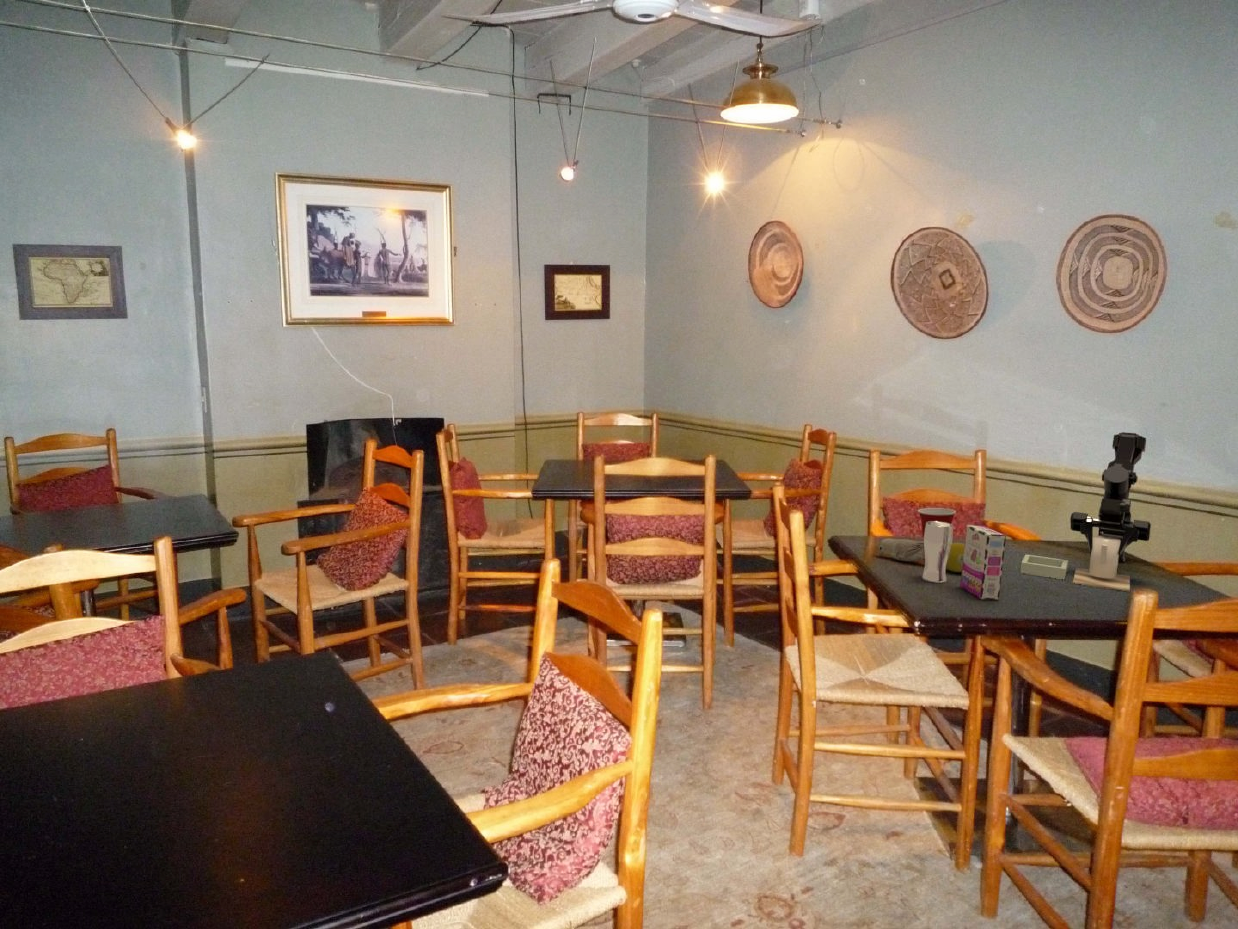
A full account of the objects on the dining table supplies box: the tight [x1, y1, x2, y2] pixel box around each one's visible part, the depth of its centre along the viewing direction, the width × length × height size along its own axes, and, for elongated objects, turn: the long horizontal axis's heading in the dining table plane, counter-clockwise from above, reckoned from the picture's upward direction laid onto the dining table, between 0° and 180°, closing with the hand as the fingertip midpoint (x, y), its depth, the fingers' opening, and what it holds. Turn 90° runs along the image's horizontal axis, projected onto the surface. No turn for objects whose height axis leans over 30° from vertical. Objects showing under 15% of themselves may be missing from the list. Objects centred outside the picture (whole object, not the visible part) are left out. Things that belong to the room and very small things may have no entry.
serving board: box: [1072, 567, 1131, 593], centre depth 232 cm, size 16×13×1 cm
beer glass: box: [921, 521, 954, 584], centre depth 226 cm, size 7×7×15 cm
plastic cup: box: [917, 507, 957, 541], centre depth 260 cm, size 11×11×12 cm
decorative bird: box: [877, 537, 925, 562], centre depth 244 cm, size 5×16×8 cm, turn 51°
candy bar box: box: [960, 524, 1007, 601], centre depth 215 cm, size 11×5×16 cm, turn 5°
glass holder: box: [1020, 554, 1069, 581], centre depth 238 cm, size 11×11×3 cm
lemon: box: [946, 542, 965, 573], centre depth 235 cm, size 11×8×8 cm
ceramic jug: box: [1088, 535, 1121, 578], centre depth 230 cm, size 8×6×10 cm
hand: (1104, 551), depth 229 cm, fingers closed on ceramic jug, 6 cm apart
